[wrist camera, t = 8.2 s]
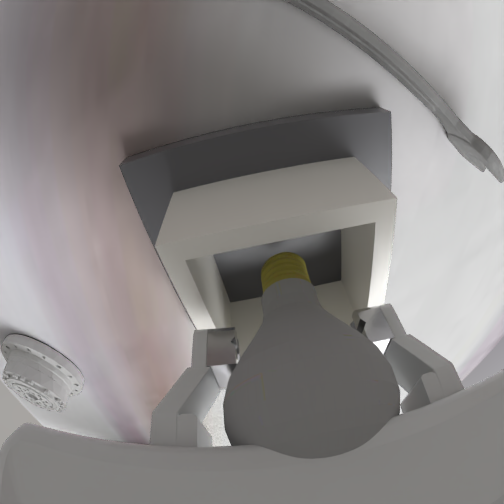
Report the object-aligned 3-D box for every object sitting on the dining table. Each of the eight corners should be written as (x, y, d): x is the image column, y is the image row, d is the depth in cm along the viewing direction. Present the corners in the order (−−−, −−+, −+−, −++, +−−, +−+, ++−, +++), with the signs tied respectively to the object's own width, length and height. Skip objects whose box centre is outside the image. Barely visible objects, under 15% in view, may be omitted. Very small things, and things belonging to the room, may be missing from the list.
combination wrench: (118, -56, 4) (502, 201, 11) (139, -81, 4) (514, 184, 10) (147, -31, 7) (463, 172, 14) (162, -51, 7) (474, 157, 13)
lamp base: (374, 290, 19) (401, 349, 15) (200, 325, 19) (197, 390, 15) (380, 107, 11) (446, 139, 7) (126, 157, 12) (81, 210, 8)
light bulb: (202, 280, 14) (195, 500, 6) (263, 189, 11) (326, 475, 3) (292, 314, 16) (328, 493, 8) (358, 244, 13) (451, 444, 5)
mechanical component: (90, 393, 27) (77, 349, 21) (83, 426, 23) (64, 391, 18) (20, 369, 25) (-6, 319, 19) (10, 399, 21) (-23, 354, 16)
